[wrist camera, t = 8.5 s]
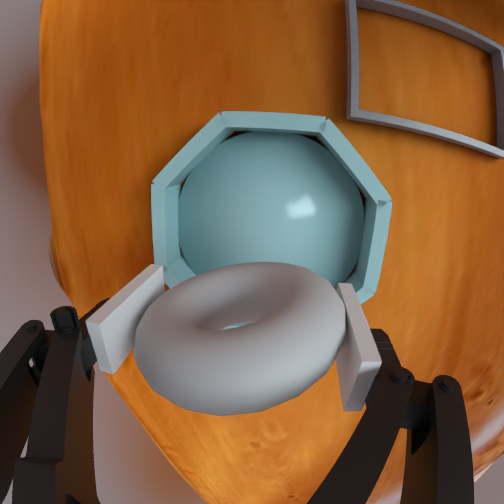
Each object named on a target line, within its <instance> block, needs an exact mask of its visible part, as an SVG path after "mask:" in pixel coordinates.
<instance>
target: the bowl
mask: <svg viewBox="0 0 504 504" xmlns="http://www.w3.org/2000/svg"><path fill="white" fill-rule="evenodd" d="M235 131H243V132H247V133H244V134H241V135H237V136H235V137H232V138H230V139H228V138H229V137H230V136H231V135H232V134H233V133H234V132H235ZM301 135H309V136H316V137H317V138H318V139H319V141H320V142H321V143H322V144H323V145H324V146H325V147H323V146H322V145H320V144H318V143H317V142H315V141H313V140H311V139H308V138H306V137H304V136H301ZM227 139H228V140H227ZM225 140H226V141H225ZM186 179H187V180H186ZM185 180H186V182H185V184H184V186H183V188H182V192H181V184H182V183H183V182H184V181H185ZM152 182H153V184H151V209H152V234H153V251H154V264H156V265H163V275H164V282H165V284H166V285H167V286H168V287H169V288H170V289H171V288H172V287H174V286H176V285H177V284H179V283H181V282H182V281H184V280H187V279H189V278H192V277H194V276H196V275H199V274H201V273H204V272H207V271H210V270H214V269H217V268H221V267H225V266H230V265H236V264H241V263H251V262H281V263H289V264H293V265H297V266H301V267H305V268H308V269H310V270H312V271H313V272H315V273H317V274H318V275H320V276H322V277H323V278H325V279H326V280H328V281H329V282H330V283H331V285H332V286H333V288H334V289H335V291H336V292H337V287H338V283H349V284H352V286H353V288H354V290H355V293H356V295H357V298H358V300H359V303H360V305H361V304H362V303H364V302H365V301H367V300H368V299H369V298H371V297H372V296H373V295H374V294H373V292H374V293H376V289H377V285H378V280H379V276H380V271H381V267H382V262H383V257H384V252H385V246H386V241H387V235H388V229H389V223H390V216H391V210H392V201H390V200H391V199H392V198H391V197H390V196H389V194H388V193H387V191H386V190H385V188H384V187H383V186H382V184H381V183H380V181H379V180H378V179H377V177H376V176H375V175H374V173H373V172H372V171H371V169H370V168H369V167H368V165H367V164H366V163H365V161H364V160H363V159H362V157H361V156H360V155H359V154H358V152H357V151H356V150H355V149H354V147H353V146H352V145H351V144H350V142H349V141H348V140H347V139H346V138H345V136H344V135H343V134H342V133H341V132H340V131H339V129H338V128H337V127H336V126H335V125H334V124H333V122H332V121H331V120H330V119H328V120H326V117H323V116H314V115H304V114H291V113H276V112H250V111H222V114H220V113H218V114H217V115H215V116H214V117H213V118H212V119H211V120H210V121H209V122H208V123H207V124H206V125H205V126H204V127H203V128H202V129H201V130H200V131H199V132H198V133H197V134H196V135H195V136H194V137H193V138H192V139H191V140H190V141H189V142H188V143H187V144H186V145H185V146H184V147H183V148H182V149H181V150H180V151H179V152H178V153H177V154H176V155H175V156H174V158H173V159H172V160H171V161H170V162H169V163H168V164H167V165H166V166H165V167H164V168H163V169H162V171H161V172H160V173H159V174H158V175H157V176H156V177H155V178H154V180H153V181H152ZM359 190H360V191H361V192H362V194H363V195H364V196H365V206H364V207H363V202H362V198H361V195H360V192H359ZM182 252H183V255H184V256H183V255H182ZM355 264H356V265H355ZM354 266H355V270H354V271H353V272H352V270H353V268H354ZM351 272H352V273H351ZM252 322H254V321H252ZM248 323H251V322H244V323H238V324H234V325H231V326H228V327H225V328H223V329H229V328H235V327H240V326H242V325H245V324H248ZM221 330H222V329H221Z"/></svg>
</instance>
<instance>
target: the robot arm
mask: <svg viewBox="0 0 504 504" xmlns="http://www.w3.org/2000/svg"><path fill="white" fill-rule="evenodd" d="M163 293H165V288H164V275H163V265H156V264H151V265H149V266H148V267H147V268H146V269H145V270H143V271H142V272H141V273H140V274H139V275H137V276H136V277H135V278H134V279H133V280H132V281H130V282H129V283H128V284H127V285H126V286H124V287H123V288H122V289H121V290H120V291H119V292H117V293H116V294H115V295H114V296H113V297H112V298H107V299H105V300H103V301H101V302H99V303H98V304H97V305H96V306H95V308H94V307H93V308H92V309H91V310H90V312H88V313H87V314H85V315H84V316H83V317H82V318H81V319H80V320H79V319H78V315H77V311H76V309H75V308H74V307H71V306H62V307H59V308H57V309H55V310H53V311H52V312H51V314H50V316H51V319H52V323H53V325H54V329H55V331H52V330H45V328H44V325H43V323H42V322H41V321H39V320H30V321H28V322H27V323H25V324H23V325H22V326H21V328H20V329H19V330H18V331H17V332H16V334H15V335H14V336H13V337H12V339H11V340H10V341H9V342H8V344H7V345H6V346H5V347H4V349H3V350H2V351H1V353H0V504H2V502H3V500H4V499H5V496H6V495H7V493H8V490H9V487H10V485H11V482H12V479H13V491H12V504H100V502H99V500H98V497H97V492H96V482H95V471H94V455H93V394H94V393H93V392H94V376H95V375H94V374H95V372H94V368H93V365H94V364H95V362H96V361H97V362H98V365H99V368H100V370H101V371H103V372H106V373H109V374H113V375H114V373H115V372H116V371H117V369H118V368H119V367H120V365H121V364H122V363H123V361H124V360H125V359H126V358H127V356H128V355H129V354H130V352H131V351H132V350H133V348H134V347H135V333H136V328H137V326H138V324H139V322H140V320H141V318H142V317H143V315H144V313H145V312H146V310H147V308H148V307H149V306H150V305H151V304H152V303H153V302H154V301H155V300H156V299H157V298H159V297H160V296H161V295H162V294H163ZM337 294H338V295H339V297H340V298H341V300H342V301H343V303H344V307H345V311H346V334H345V340H344V344H343V346H342V348H341V349H340V351H339V353H338V355H337V357H336V363H337V369H338V376H339V383H340V390H341V397H342V404H343V411H361V410H362V408H363V406H364V404H365V403H366V408H367V409H366V410H365V412H364V414H363V416H362V418H361V420H360V422H359V424H358V426H357V427H356V429H355V431H354V433H353V434H352V436H351V438H350V440H349V441H348V443H347V445H346V446H345V448H344V450H343V451H342V453H341V455H340V456H339V458H338V459H337V461H336V463H335V464H334V466H333V467H332V469H331V470H330V472H329V473H328V475H327V476H326V478H325V479H324V481H323V482H322V483H321V485H320V486H319V488H318V489H317V490H316V492H315V493H314V495H313V496H312V497H311V499H310V500H309V501H308V503H307V504H365V503H366V502H367V500H368V498H369V496H370V494H371V492H372V490H373V488H374V486H375V484H376V482H377V480H378V478H379V476H380V474H381V472H382V470H383V468H384V465H385V463H386V461H387V459H388V456H389V454H390V452H391V449H392V447H393V444H394V442H395V439H396V437H397V434H398V432H399V429H400V428H405V429H407V444H406V459H405V470H404V479H403V487H402V495H401V501H400V504H474V478H473V462H472V452H471V443H470V435H469V428H468V422H467V416H466V410H465V405H464V400H463V395H462V390H461V386H460V384H459V382H458V381H457V380H456V379H454V378H452V377H451V376H447V375H439V376H437V377H435V379H434V380H433V382H432V383H426V382H421V381H417V380H415V378H414V376H413V374H412V373H411V372H410V371H409V370H408V369H406V368H403V367H401V364H400V362H399V360H398V357H397V355H396V353H395V350H394V349H393V346H392V344H391V341H390V339H389V337H388V335H387V334H386V333H385V332H384V331H383V330H382V329H370V328H369V325H368V323H367V320H366V318H365V315H364V312H363V310H362V307H361V305H360V303H359V300H358V298H357V295H356V293H355V290H354V288H353V286H352V284H349V283H338V287H337ZM30 359H32V361H33V364H34V365H33V366H32V367H30V365H29V360H30ZM28 436H29V438H28ZM27 438H28V445H27V453H26V456H25V457H24V458H20V456H21V453H22V451H23V448H24V446H25V443H26V441H27Z"/></svg>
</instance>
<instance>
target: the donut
mask: <svg viewBox="0 0 504 504" xmlns="http://www.w3.org/2000/svg"><path fill="white" fill-rule="evenodd" d="M252 321H254V322H252ZM244 322H251V323H248V324H245V325H242V326H240V327H235V328H229V329H223V328H225V327H228V326H231V325H234V324H238V323H244ZM221 329H222V330H221ZM345 334H346V311H345V307H344V303H343V301H342V300H341V298H340V297H339V295H338V294H337V292H336V291H335V289H334V288H333V286H332V285H331V283H330V282H329V281H328V280H326V279H325V278H323V277H322V276H320V275H318V274H317V273H315V272H313V271H312V270H310V269H308V268H305V267H301V266H297V265H293V264H289V263H281V262H251V263H241V264H236V265H230V266H225V267H221V268H217V269H214V270H210V271H207V272H204V273H201V274H199V275H196V276H194V277H192V278H189V279H187V280H184V281H182V282H181V283H179V284H177V285H176V286H174V287H172V288H171V289H169V290H168V291H166V292H165V293H163V294H162V295H161V296H160V297H159V298H157V299H156V300H155V301H154V302H153V303H152V304H151V305H150V306H149V307H148V308H147V310H146V312H145V313H144V315H143V317H142V318H141V320H140V322H139V324H138V326H137V328H136V333H135V348H134V356H135V360H136V363H137V366H138V368H139V369H140V371H141V373H142V374H143V376H144V378H145V379H146V381H147V383H148V384H149V385H150V387H151V388H152V389H153V390H154V391H155V392H156V393H158V394H160V395H161V396H163V397H164V398H166V399H168V400H169V401H171V402H173V403H174V404H176V405H178V406H180V407H182V408H184V409H186V410H190V411H195V412H200V413H206V414H212V415H218V416H227V415H237V414H245V413H253V412H261V411H264V410H266V409H269V408H271V407H274V406H276V405H279V404H281V403H284V402H286V401H288V400H291V399H293V398H295V397H298V396H299V395H301V394H302V393H303V392H304V391H306V390H307V389H308V388H309V387H311V386H312V385H313V384H314V383H315V382H317V381H318V380H319V379H320V378H321V377H323V376H324V375H325V374H326V373H327V371H328V370H329V368H330V367H331V365H332V364H333V362H334V360H335V358H336V357H337V355H338V353H339V351H340V349H341V348H342V346H343V344H344V340H345Z"/></svg>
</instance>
